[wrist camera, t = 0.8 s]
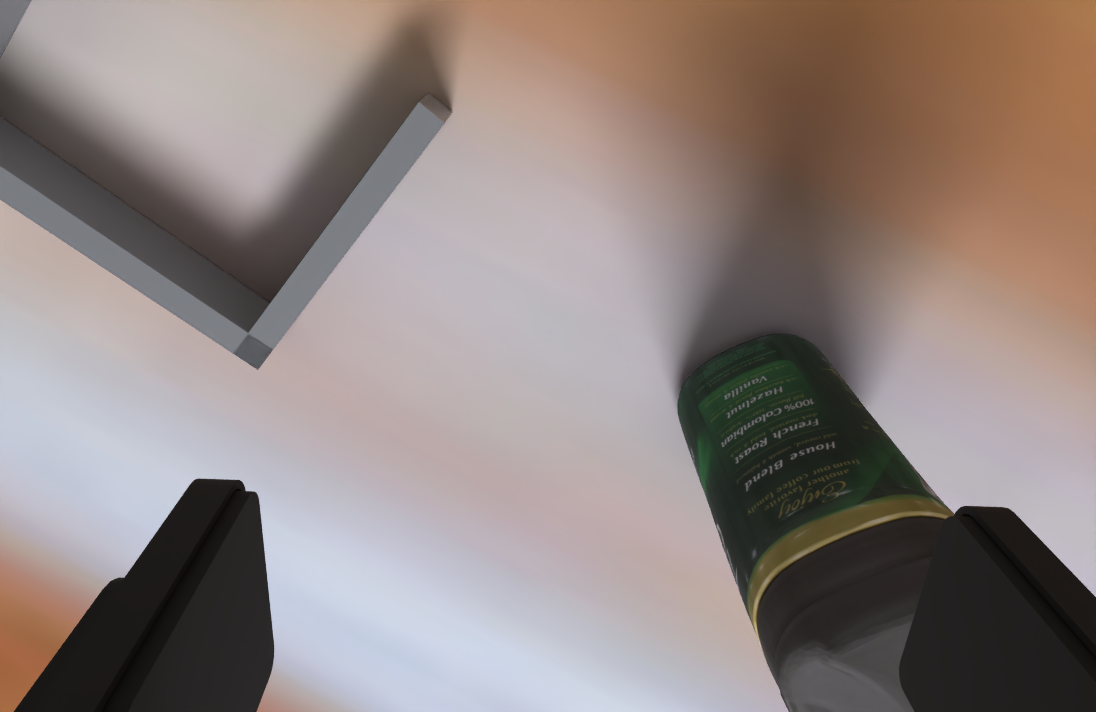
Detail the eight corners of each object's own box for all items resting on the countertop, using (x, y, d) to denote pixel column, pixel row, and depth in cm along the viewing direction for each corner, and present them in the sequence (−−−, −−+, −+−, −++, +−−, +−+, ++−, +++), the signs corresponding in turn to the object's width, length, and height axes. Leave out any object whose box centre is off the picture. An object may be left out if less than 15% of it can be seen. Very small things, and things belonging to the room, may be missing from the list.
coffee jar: (649, 378, 39) (749, 670, 22) (802, 304, 37) (1038, 553, 20) (726, 524, 42) (865, 873, 25) (869, 461, 41) (1117, 785, 24)
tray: (88, -189, 29) (34, -214, 26) (452, 112, 33) (444, 123, 30) (-64, 104, 33) (-128, 114, 29) (280, 338, 37) (257, 369, 34)
